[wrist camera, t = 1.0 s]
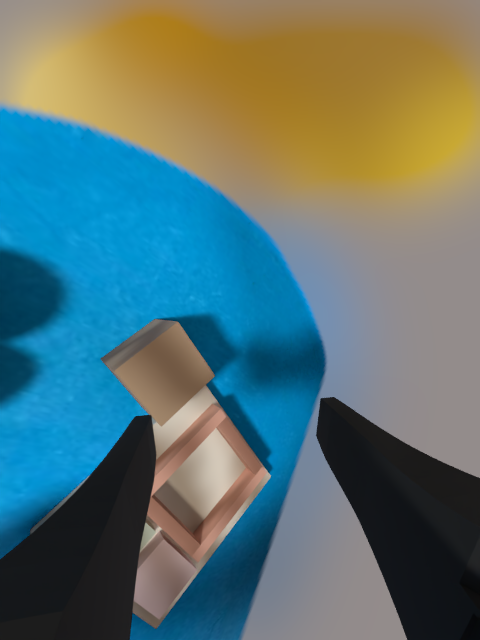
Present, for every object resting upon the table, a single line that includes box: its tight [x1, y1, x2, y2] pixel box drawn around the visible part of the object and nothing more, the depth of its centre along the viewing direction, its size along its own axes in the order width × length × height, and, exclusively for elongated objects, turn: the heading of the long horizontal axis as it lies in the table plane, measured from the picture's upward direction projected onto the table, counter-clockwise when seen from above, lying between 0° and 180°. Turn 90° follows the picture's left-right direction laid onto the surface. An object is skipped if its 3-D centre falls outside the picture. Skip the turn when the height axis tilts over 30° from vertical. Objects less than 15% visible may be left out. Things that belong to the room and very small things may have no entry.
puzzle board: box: [30, 385, 271, 629], centre depth 24 cm, size 15×14×2 cm
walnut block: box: [101, 319, 215, 427], centre depth 21 cm, size 5×5×5 cm
